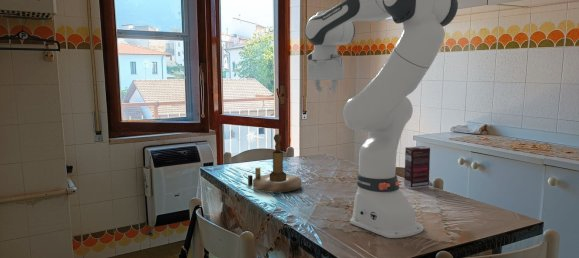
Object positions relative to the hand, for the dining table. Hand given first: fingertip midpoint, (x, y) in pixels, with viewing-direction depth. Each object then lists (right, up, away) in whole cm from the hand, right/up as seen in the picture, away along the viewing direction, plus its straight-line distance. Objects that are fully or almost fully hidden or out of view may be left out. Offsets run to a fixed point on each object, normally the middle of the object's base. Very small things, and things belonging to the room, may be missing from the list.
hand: (325, 91), depth 158 cm
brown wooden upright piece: (-18, -34, +4) cm, 39 cm away
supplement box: (+36, -37, +5) cm, 52 cm away
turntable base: (-21, -37, +5) cm, 43 cm away
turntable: (-19, -37, +4) cm, 42 cm away
